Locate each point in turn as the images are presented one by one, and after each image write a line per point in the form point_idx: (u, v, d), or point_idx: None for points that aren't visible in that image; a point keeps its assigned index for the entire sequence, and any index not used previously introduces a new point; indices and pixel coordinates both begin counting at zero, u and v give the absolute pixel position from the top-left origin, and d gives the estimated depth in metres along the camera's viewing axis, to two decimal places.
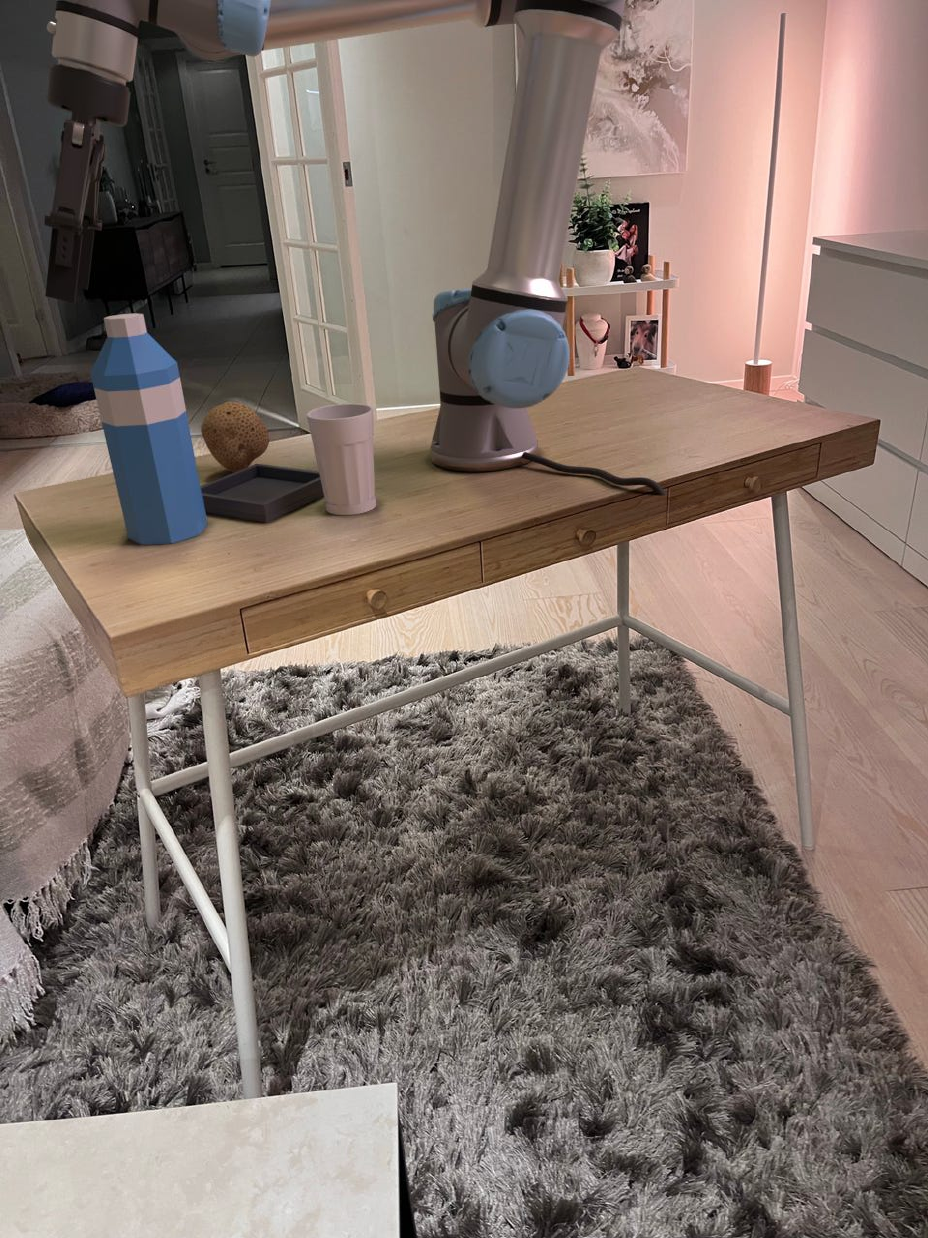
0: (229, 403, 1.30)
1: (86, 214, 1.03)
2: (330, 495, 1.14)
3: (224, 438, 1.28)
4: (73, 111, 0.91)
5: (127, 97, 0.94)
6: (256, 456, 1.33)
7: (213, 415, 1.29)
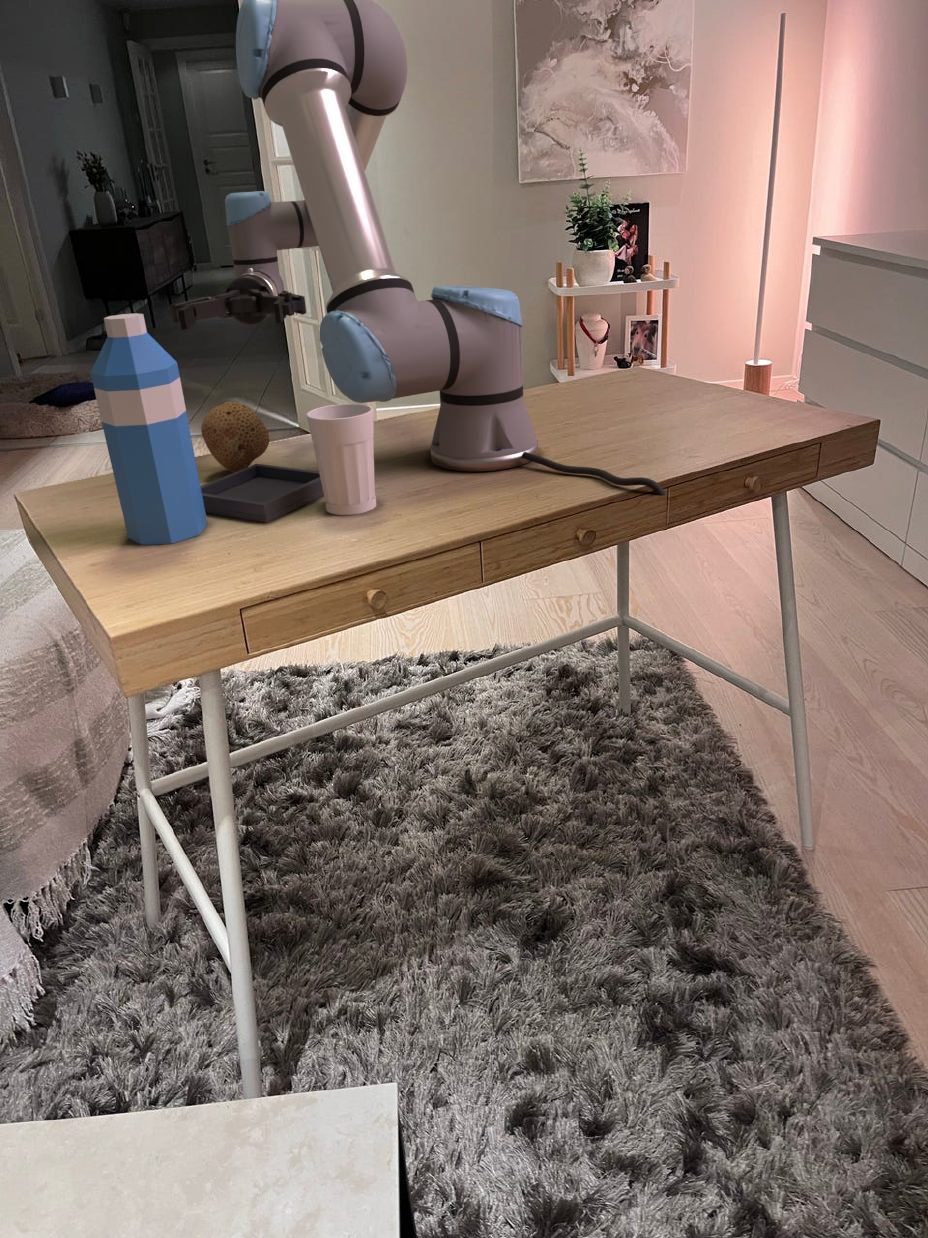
0: (229, 403, 1.30)
1: (197, 314, 1.42)
2: (330, 495, 1.14)
3: (224, 438, 1.28)
4: (269, 293, 1.50)
5: None
6: (256, 456, 1.33)
7: (213, 415, 1.29)
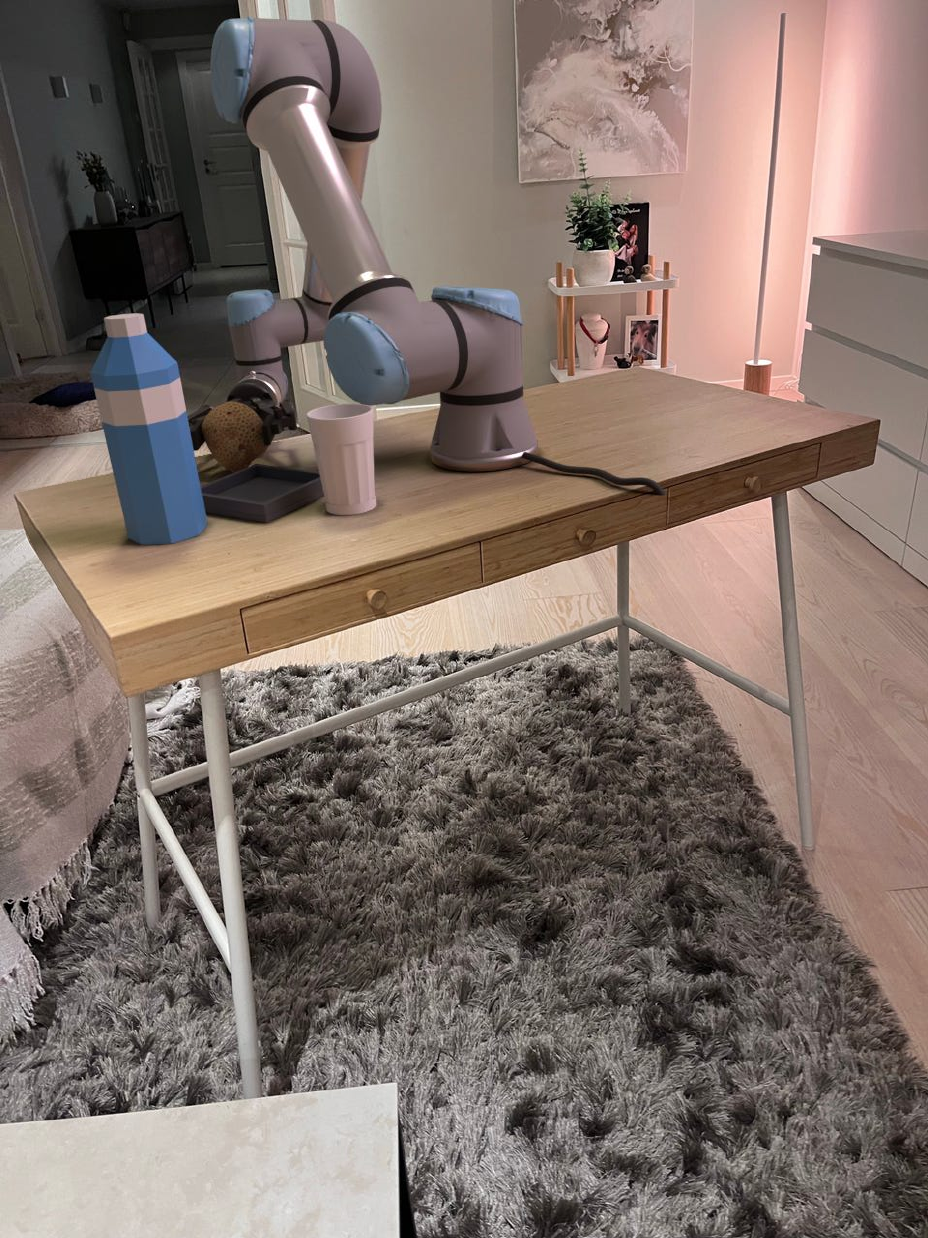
0: (229, 403, 1.30)
1: None
2: (330, 495, 1.14)
3: (224, 438, 1.28)
4: (272, 400, 1.45)
5: None
6: (256, 456, 1.33)
7: (214, 415, 1.29)
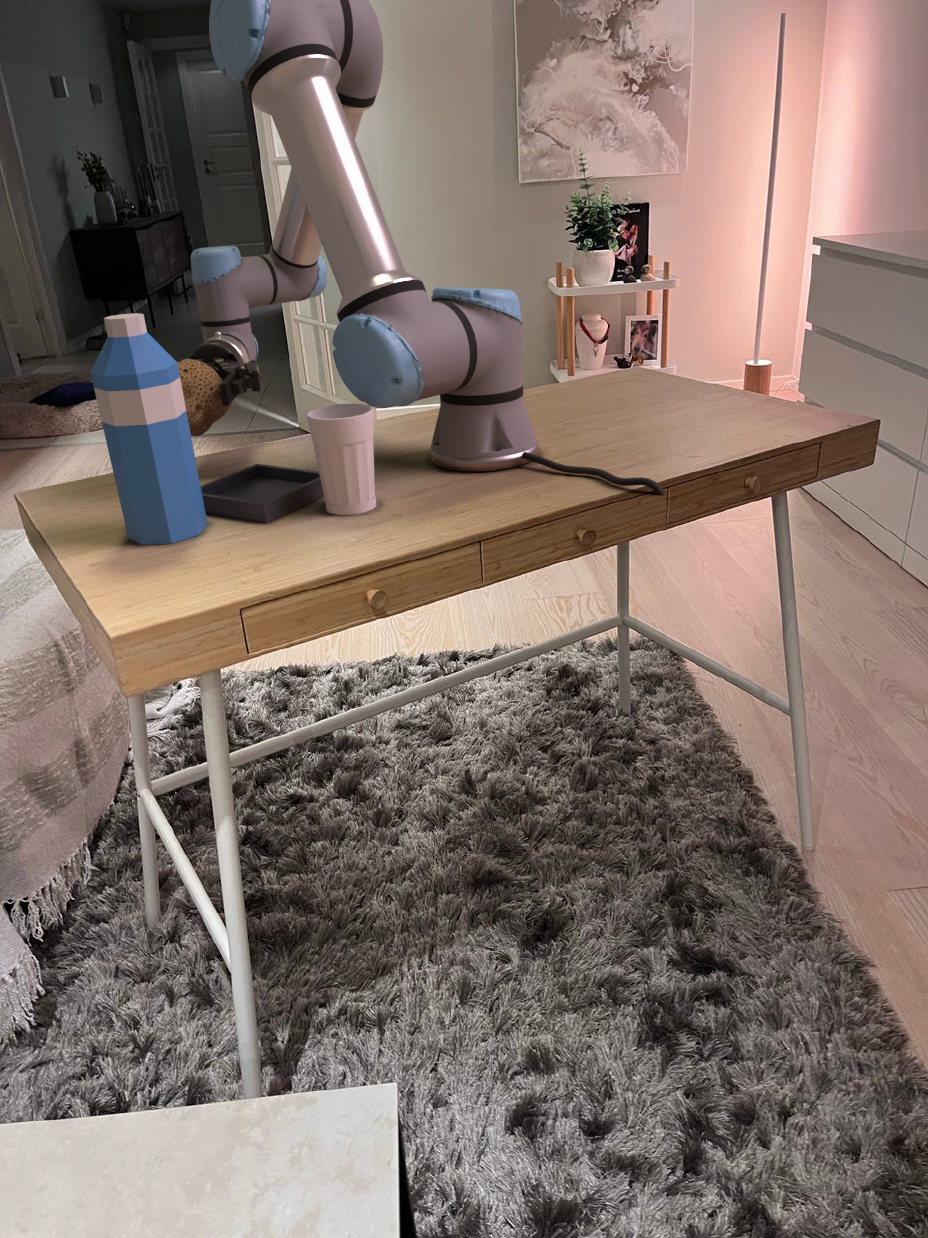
0: (186, 360, 1.21)
1: None
2: (330, 495, 1.14)
3: None
4: (237, 361, 1.36)
5: None
6: (216, 418, 1.24)
7: None
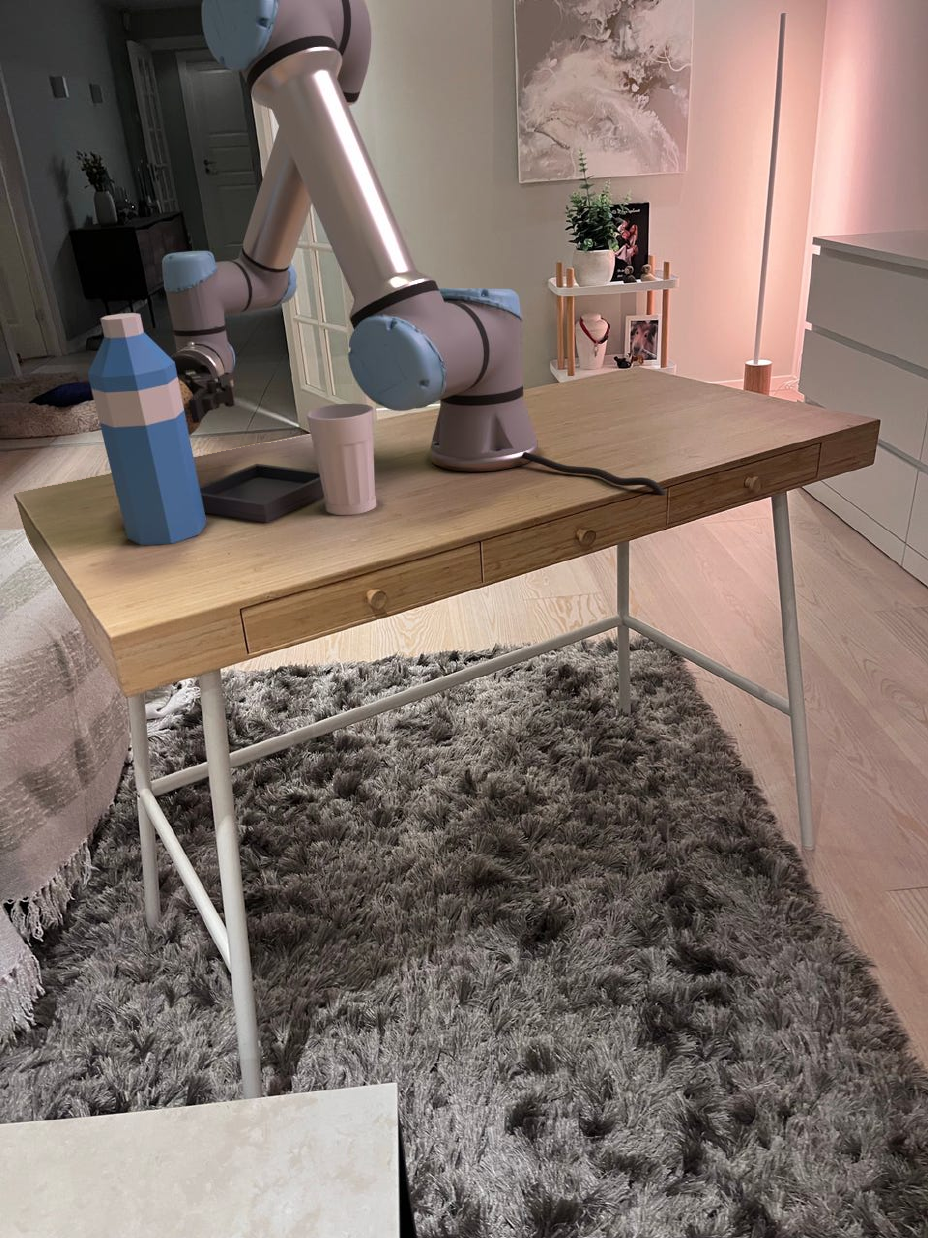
0: None
1: None
2: (330, 495, 1.14)
3: None
4: (211, 374, 1.28)
5: None
6: None
7: None
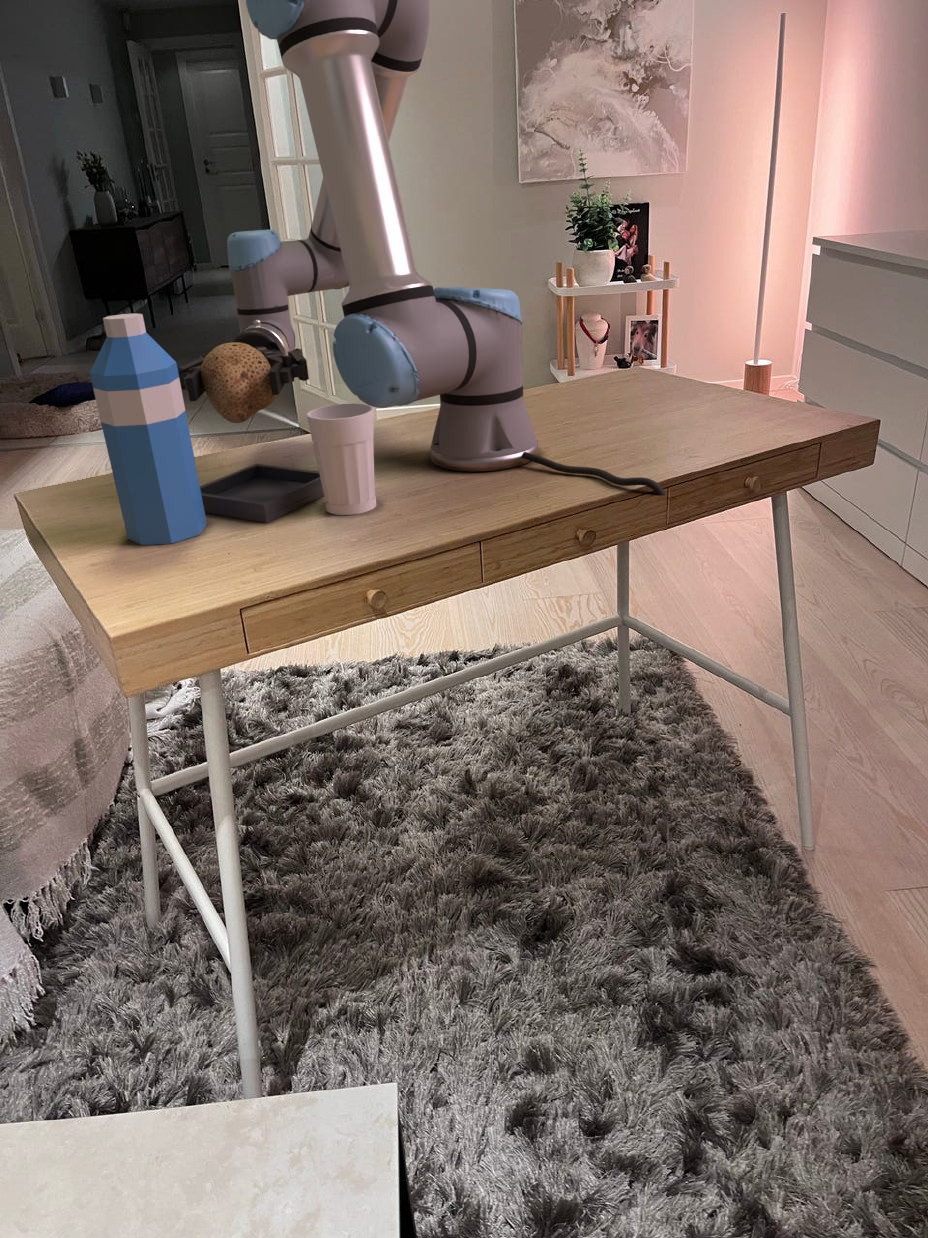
0: None
1: None
2: (330, 495, 1.14)
3: (226, 364, 1.12)
4: (280, 350, 1.28)
5: None
6: (260, 398, 1.15)
7: (217, 347, 1.14)
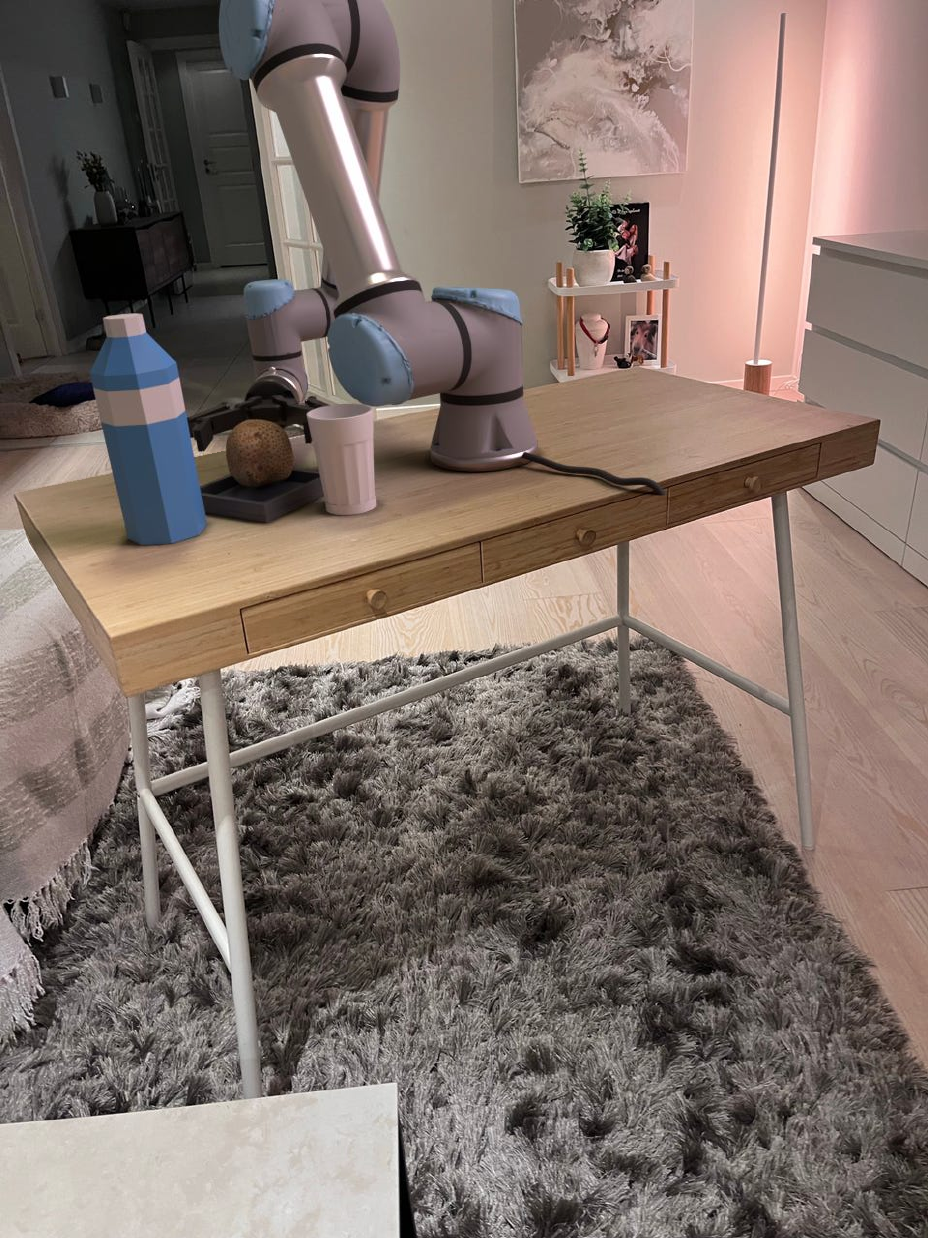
0: None
1: (214, 428, 1.26)
2: (330, 495, 1.14)
3: (244, 426, 1.20)
4: (294, 398, 1.34)
5: None
6: (270, 461, 1.20)
7: None
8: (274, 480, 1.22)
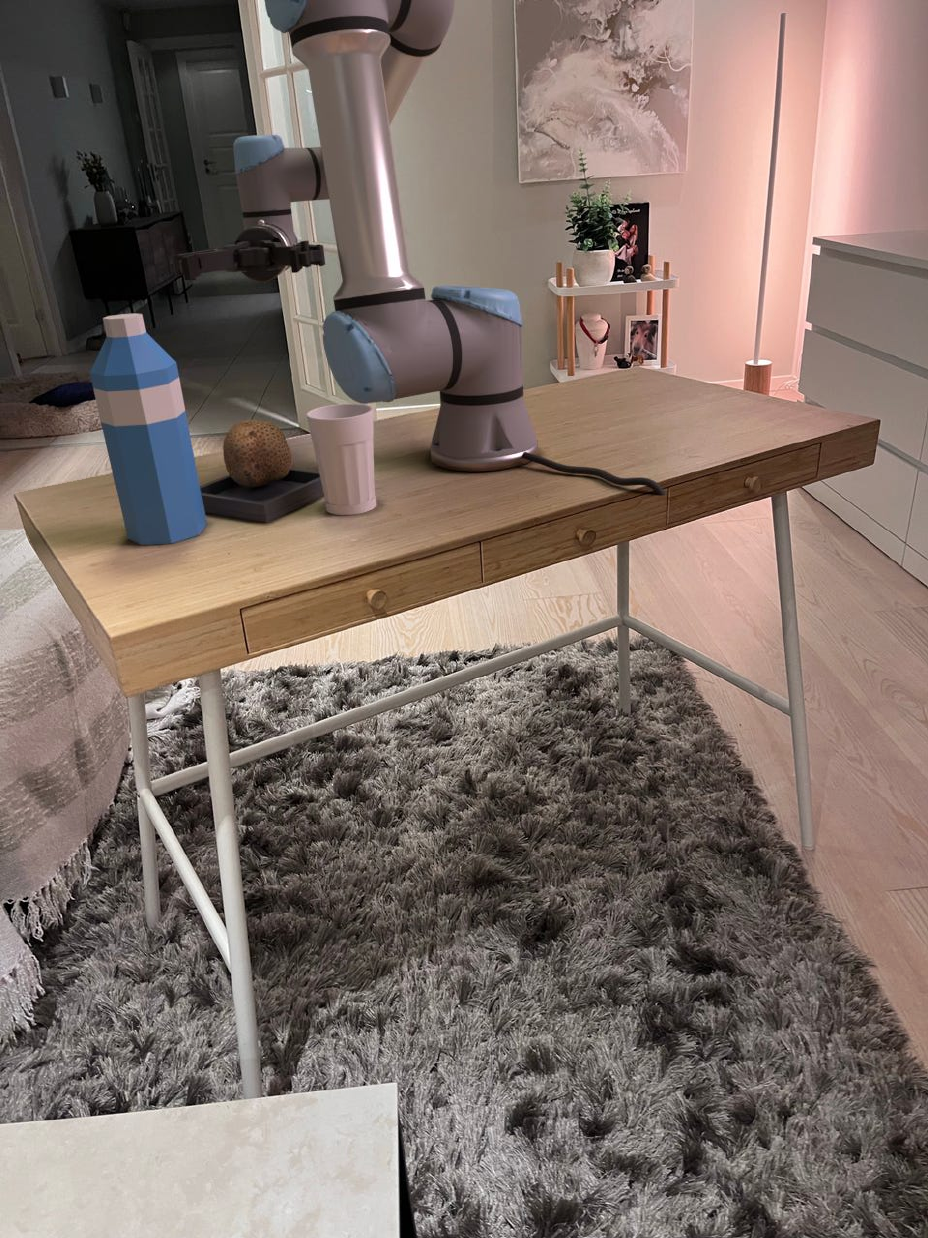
0: None
1: (202, 266, 1.26)
2: (330, 495, 1.14)
3: (239, 426, 1.20)
4: (283, 245, 1.34)
5: None
6: (267, 459, 1.20)
7: None
8: (273, 478, 1.22)
